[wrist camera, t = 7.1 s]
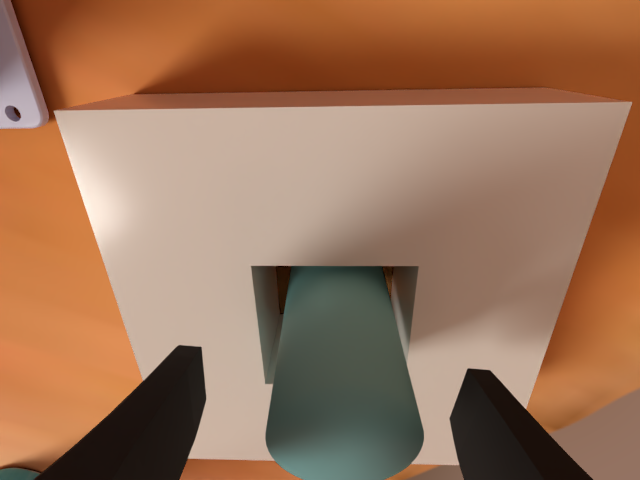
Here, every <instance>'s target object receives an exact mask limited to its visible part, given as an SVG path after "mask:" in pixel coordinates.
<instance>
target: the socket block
mask: <svg viewBox="0 0 640 480" xmlns="http://www.w3.org/2000/svg"><path fill="white" fill-rule="evenodd" d="M631 105H632V102H630V101H624V100H618V99H612V98H606V97H600V96H594V95H588V94H582V93H576V92H570V91H564V90H558V89H552V88H547V87H535V88H476V89H416V90H356V91H296V92H236V93H177V94H131V95H126V96H121V97H116V98H112V99H107V100H102V101H97V102H93V103H88V104H83V105H78V106H73V107H69V108H64V109H59V110H54V114H55V117H56V120H57V123H58V126H59V129H60V132H61V135H62V138H63V141H64V144H65V147H66V150H67V153H68V156H69V159H70V162H71V165H72V168H73V171H74V174H75V177H76V180H77V183H78V186H79V189H80V192H81V195H82V198H83V201H84V204H85V207H86V210H87V213H88V216H89V219H90V222H91V225H92V228H93V231H94V234H95V237H96V240H97V243H98V246H99V249H100V252H101V255H102V258H103V261H104V264H105V267H106V270H107V273H108V276H109V279H110V283H111V286H112V289H113V292H114V295H115V298H116V301H117V304H118V307H119V310H120V313H121V316H122V319H123V322H124V325H125V328H126V331H127V334H128V337H129V340H130V343H131V346H132V349H133V352H134V355H135V358H136V361H137V364H138V367H139V370H140V373H141V376H142V379H143V381H144V380H145V379H146V378H147V377H148V376H149V375H150V374H151V373H152V372H153V371H154V369H155V368H156V367H157V366H158V365H159V364H160V363H161V362H162V361H163V360H164V359H165V358H166V357H167V356H168V355H169V354H170V353H171V352H172V351H173V350H174V349H175V348H176V347H177V346H178V345H186V346H198V347H202V357H203V368H204V378H205V389H206V403H205V407H204V410H203V414H202V418H201V421H200V425H199V428H198V432H197V435H196V438H195V441H194V444H193V446H192V449H191V451H190V454H189V456H188V459H226V460H267V461H275V460H274V459H273V458H272V456H271V455H270V453H269V451H268V448H267V446H266V440H265V434H266V426H267V420H268V413H269V407H270V400H271V394H272V387H273V381H274V375H275V368H276V362H277V355H278V349H279V342H280V336H281V329H282V323H283V317H284V314H280V310H279V298H278V286H277V274H276V266H394V267H393V279H392V291H391V304H392V308H393V312H394V316H395V320H396V324H397V328H398V332H399V336H400V340H401V343H402V347H403V351H404V355H405V359H406V363H407V367H408V371H409V375H410V379H411V383H412V387H413V391H414V395H415V398H416V402H417V406H418V410H419V414H420V418H421V422H422V426H423V430H424V442H423V446H422V448H421V451H420V453H419V454H418V456H417V457H416V458H415V460H414V461H413V462H412V463H411V464H434V465H459V462H458V458H457V454H456V449H455V445H454V440H453V435H452V429H451V424H450V419H449V418H450V416H451V413H452V410H453V407H454V405H455V402H456V399H457V396H458V394H459V391H460V388H461V385H462V382H463V380H464V377H465V374H466V371H467V369H468V368H471V369H483V370H491V372H492V373H493V374H494V375H495V376H496V377H497V378H498V379H499V380H500V381H501V382H502V383H503V385H504V386H505V387H506V388H507V389H508V390H509V391H510V392H511V393H512V395H513V396H514V397H515V398H516V399H517V400H518V401H519V402H520V403H521V405H522V406H523V407H524V408H525V409H526V407H527V405H528V402H529V399H530V396H531V393H532V390H533V387H534V384H535V382H536V379H537V376H538V373H539V370H540V367H541V364H542V361H543V359H544V356H545V353H546V350H547V347H548V344H549V341H550V338H551V335H552V333H553V330H554V327H555V324H556V321H557V318H558V315H559V312H560V310H561V307H562V304H563V301H564V298H565V295H566V292H567V289H568V287H569V284H570V281H571V278H572V275H573V272H574V269H575V266H576V264H577V261H578V258H579V255H580V252H581V249H582V246H583V243H584V240H585V238H586V235H587V232H588V229H589V226H590V223H591V220H592V217H593V215H594V212H595V209H596V206H597V203H598V200H599V197H600V194H601V192H602V189H603V186H604V183H605V180H606V177H607V174H608V171H609V168H610V166H611V163H612V160H613V157H614V154H615V151H616V148H617V145H618V143H619V140H620V137H621V134H622V131H623V128H624V125H625V122H626V120H627V117H628V114H629V111H630V108H631Z"/></svg>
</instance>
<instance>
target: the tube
mask: <svg viewBox="0 0 640 480" xmlns="http://www.w3.org/2000/svg"><path fill="white" fill-rule="evenodd" d="M39 474H41V473H39V472H36V471H31V470H27V469H22V468H6V469H0V480H33V479H34V478H36V477H37V476H38V475H39Z"/></svg>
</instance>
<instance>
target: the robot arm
mask: <svg viewBox="0 0 640 480" xmlns="http://www.w3.org/2000/svg"><path fill="white" fill-rule="evenodd" d="M14 107H16V108H17V109H18V110H19V112H20V114H21V119H20V118H19V117H18V116H17V115H16V114H15V112H14ZM48 120H49V113H48V109H47V107H46V104H45V101H44V98H43V95H42V92H41V89H40V86H39V83H38V80H37V77H36V74H35V71H34V68H33V65H32V62H31V59H30V56H29V53H28V50H27V47H26V45H25V42H24V39H23V36H22V33H21V30H20V27H19V24H18V21H17V18H16V15H15V12H14V9H13V6H12V3H11V0H0V129H5V128H36V127H40V126H44V125H45V124H46V123H47V122H48ZM205 403H206V389H205V378H204V368H203V357H202V347H198V346H186V345H178V346H177V347H176V348H175V349H174V350H173V351H172V352H171V353H170V354H169V355H168V356H167V357H166V358H165V359H164V360H163V361H162V362H161V363H160V364H159V365H158V366H157V367H156V368H155V369H154V371H153V372H152V373H151V374H150V375H149V376H148V377H147V378H146V379H145V380H144V381H143V382H142V383H141V384H140V385H139V386H138V387H137V388H136V389H135V390H134V391H133V392H132V393H131V394H130V395H129V396H127V397H126V398H125V399H124V400H123V401H122V402H121V403H120V404H119V405H118V406H117V407H116V408H115V409H114V410H113V411H112V412H111V413H110V414H109V415H108V416H107V417H106V418H104V419H103V420H102V421H101V422H100V423H99V424H98V425H97V426H96V427H94V428H93V429H92V430H91V431H90V432H89V433H88V434H87V435H86V436H84V437H83V438H82V439H81V440H80V441H79V442H78V443H77V444H75V445H74V446H73V447H72V448H71V449H70V450H69V451H67V452H66V453H65V454H64V455H63V456H61V457H60V458H59V459H58V460H57V461H55V462H54V463H53V464H52V465H51V466H49V467H48V468H47V469H46V470H44V471H43V472H42V473H41V474H39V475H38V476H37V477H36V478H34V479H33V480H179V479H180V477H181V474H182V472H183V469H184V467H185V464H186V461H187V459H188V456H189V454H190V451H191V449H192V446H193V444H194V441H195V438H196V435H197V432H198V428H199V425H200V421H201V418H202V414H203V410H204V407H205ZM449 419H450V424H451V429H452V435H453V440H454V445H455V449H456V454H457V458H458V462H459V465H460V468H461V471H462V474H463V478H464V480H593V479H592V478H591V477H590V476H589V475H588V474H587V473H586V472H585V471H584V470H583V469H582V468H581V467H580V466H579V465H578V464H577V463H576V462H575V461H574V460H573V459H572V458H571V457H570V456H569V455H568V454H567V453H566V452H565V451H564V450H563V449H562V448H561V447H560V446H559V445H558V443H557V442H556V441H555V440H554V439H553V438H552V437H551V436H550V435H549V434H548V433H547V432H546V431H545V430H544V429H543V428H542V426H541V425H540V424H539V423H538V422H537V421H536V420H535V419H534V418H533V417H532V416H531V414H530V413H529V412H528V411H527V410H526V409H525V408H524V407H523V406H522V405H521V403H520V402H519V401H518V400H517V399H516V398H515V397H514V396H513V395H512V393H511V392H510V391H509V390H508V389H507V388H506V387H505V386H504V385H503V383H502V382H501V381H500V380H499V379H498V378H497V377H496V376H495V375H494V374H493V373H492V372H491V370H483V369H471V368H468V369H467V371H466V374H465V377H464V380H463V382H462V385H461V388H460V391H459V394H458V396H457V399H456V402H455V405H454V407H453V410H452V413H451V416H450V418H449Z"/></svg>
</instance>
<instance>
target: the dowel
mask: <svg viewBox="0 0 640 480" xmlns="http://www.w3.org/2000/svg"><path fill="white" fill-rule="evenodd" d="M265 440H266V446H267V448H268V451H269V453H270V455H271V456H272V458H273V459H274V460H275V461H276V463H278V464H279V465H280V466H281V467H282V468H283V469H285V470H286V471H288V472H289V473H291V474H293V475H295V476H297V477H299V478H301V479H304V480H384V479H387V478H389V477H391V476H393V475H395V474H397V473H399V472H401V471H402V470H403V469H405V468H406V467H408V466H409V465H410V464H411V463H412V462H413V461H414V460H415V458H416V457H417V456H418V454H419V453H420V451H421V448H422V446H423V442H424V430H423V426H422V422H421V418H420V414H419V410H418V406H417V402H416V398H415V395H414V391H413V387H412V383H411V379H410V375H409V371H408V367H407V363H406V359H405V355H404V351H403V347H402V343H401V340H400V336H399V332H398V328H397V324H396V320H395V316H394V312H393V308H392V304H391V300H390V296H389V292H388V288H387V284H386V281H385V277H384V273H383V269H382V266H291V271H290V278H289V284H288V291H287V297H286V304H285V310H284V317H283V323H282V329H281V336H280V342H279V349H278V355H277V362H276V368H275V375H274V381H273V387H272V394H271V400H270V407H269V413H268V420H267V426H266V434H265Z"/></svg>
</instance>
